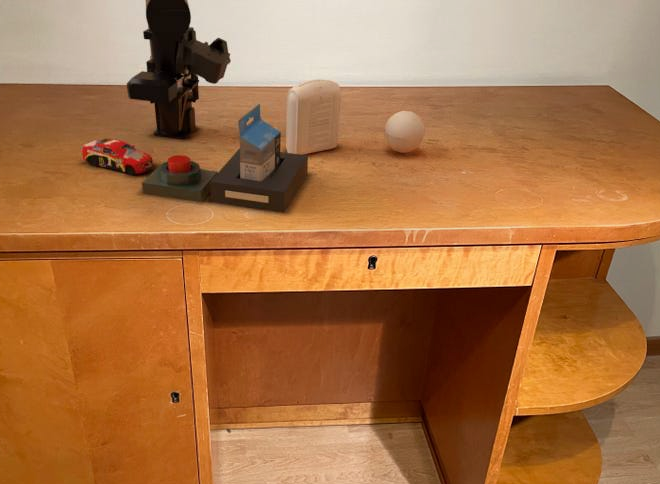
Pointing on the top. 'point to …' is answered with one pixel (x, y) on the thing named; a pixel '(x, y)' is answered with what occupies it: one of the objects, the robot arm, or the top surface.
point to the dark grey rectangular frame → (260, 184)
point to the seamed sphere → (404, 131)
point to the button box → (179, 183)
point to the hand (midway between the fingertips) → (176, 130)
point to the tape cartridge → (258, 148)
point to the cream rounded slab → (312, 116)
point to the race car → (117, 156)
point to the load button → (179, 164)
